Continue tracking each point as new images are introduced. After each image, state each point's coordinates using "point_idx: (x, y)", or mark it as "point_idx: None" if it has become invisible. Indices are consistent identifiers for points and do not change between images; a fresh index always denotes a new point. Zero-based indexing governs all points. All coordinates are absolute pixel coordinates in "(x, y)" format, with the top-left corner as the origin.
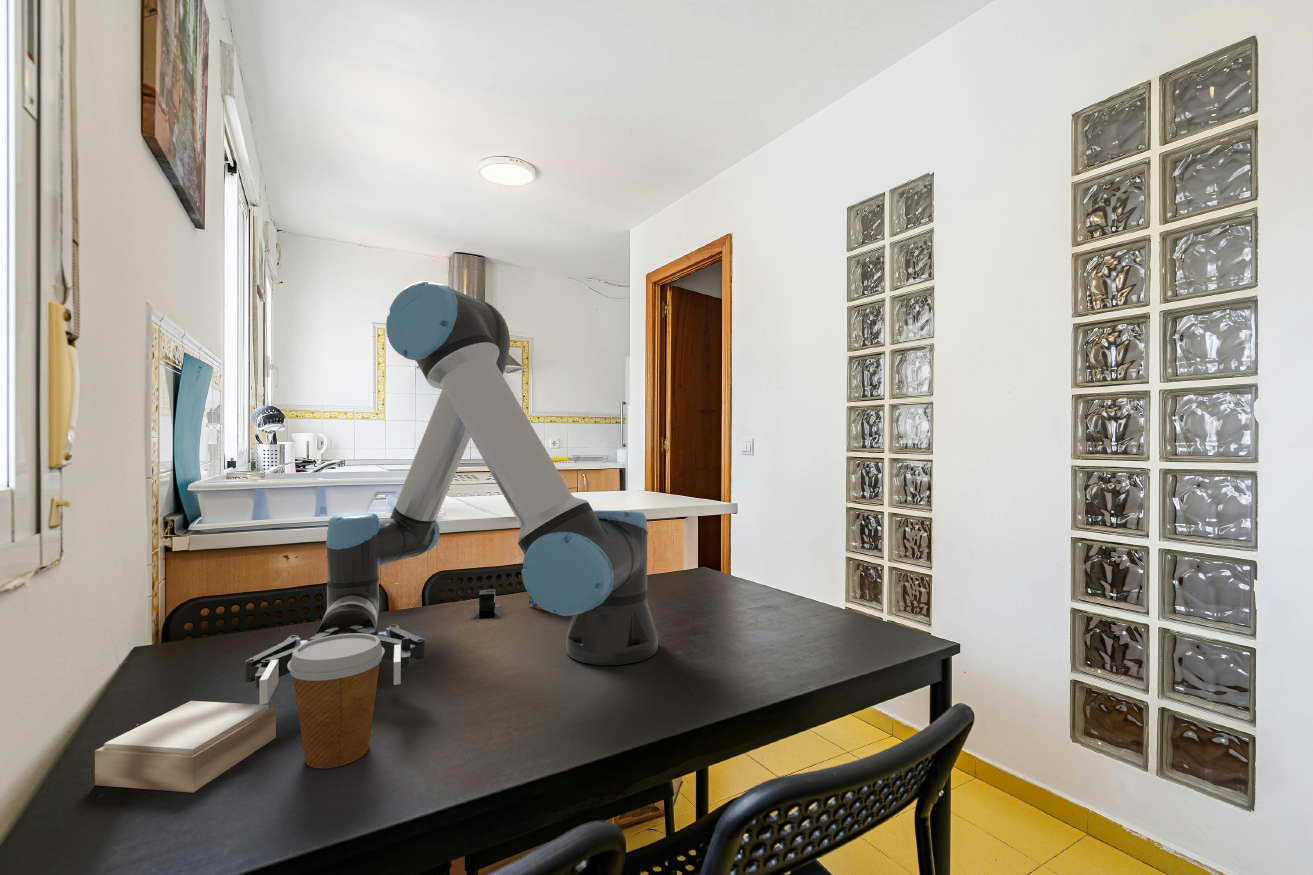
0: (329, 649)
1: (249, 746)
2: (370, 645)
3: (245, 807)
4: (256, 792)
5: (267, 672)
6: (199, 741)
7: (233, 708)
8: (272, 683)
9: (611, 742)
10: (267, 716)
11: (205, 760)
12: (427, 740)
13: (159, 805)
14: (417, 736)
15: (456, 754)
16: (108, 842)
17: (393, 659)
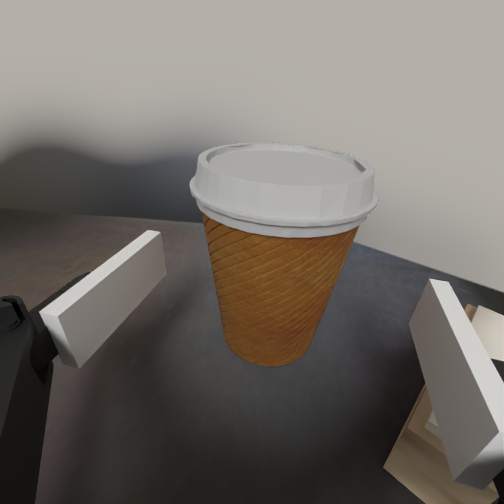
0: (299, 168)
1: (417, 400)
2: (223, 158)
3: (363, 286)
4: (360, 303)
5: (457, 316)
6: (487, 322)
7: None
8: (433, 352)
9: (50, 219)
10: (414, 411)
11: None
12: (157, 297)
13: None
14: (159, 312)
15: None
16: (481, 300)
17: (46, 399)
